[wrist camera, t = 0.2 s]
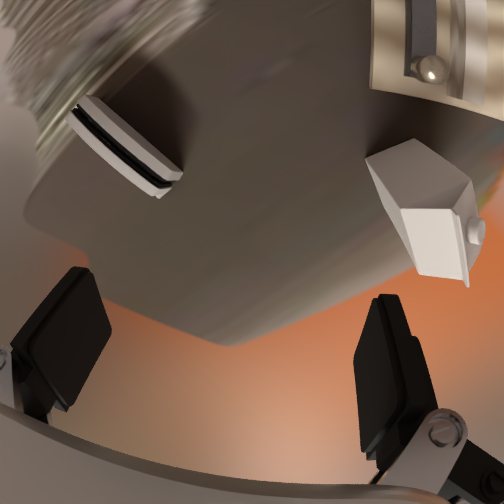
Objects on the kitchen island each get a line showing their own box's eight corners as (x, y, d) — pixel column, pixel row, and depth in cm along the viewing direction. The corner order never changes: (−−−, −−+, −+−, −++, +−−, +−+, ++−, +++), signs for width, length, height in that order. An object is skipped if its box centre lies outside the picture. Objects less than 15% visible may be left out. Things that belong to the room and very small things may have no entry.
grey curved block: (79, 124, 37) (46, 120, 28) (100, 98, 37) (71, 86, 27) (163, 199, 42) (149, 213, 33) (185, 172, 42) (177, 179, 32)
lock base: (366, -81, 18) (382, -112, 11) (497, -36, 17) (534, -47, 9) (369, 88, 31) (391, 94, 24) (498, 118, 29) (538, 135, 22)
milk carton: (383, 206, 39) (431, 303, 23) (363, 157, 36) (415, 233, 20) (430, 186, 36) (502, 271, 20) (413, 137, 33) (495, 198, 17)
